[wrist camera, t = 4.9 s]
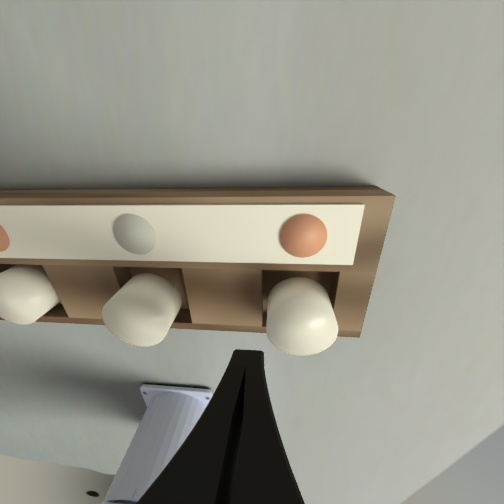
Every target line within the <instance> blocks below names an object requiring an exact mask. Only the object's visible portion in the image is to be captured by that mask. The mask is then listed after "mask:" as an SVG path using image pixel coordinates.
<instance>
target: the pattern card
mask: <svg viewBox="0 0 504 504" xmlns="http://www.w3.org/2000/svg"><path fill="white" fill-rule="evenodd" d="M364 207H365V204H156V205H0V258H33V259H82V260H130V261H179V262H227V263H276V264H325V265H353V262H354V257H355V252H356V247H357V242H358V237H359V232H360V227H361V222H362V217H363V212H364Z"/></svg>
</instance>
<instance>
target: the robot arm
mask: <svg viewBox="0 0 504 504" xmlns="http://www.w3.org/2000/svg"><path fill="white" fill-rule="evenodd" d="M140 391H141V394H142V396H143V399H144V401H145V404H146V406H147V409H146V412H145V414H144V416H143V418H142V420H141V422H140V424H139V426H138V429H137V431H136V433H135V435H134V437H133V439H132V441H131V443H130V446H129V448H128V450H127V452H126V454H125V456H124V458H123V460H122V463H121V465H120V467H119V469H118V471H117V473H116V475H115V477H114V480H113V482H112V484H111V486H110V488H109V490H108V492H107V494H106V497H105V499H104V501H102V503H101V504H305V503H304V501H303V498H302V496H301V493H300V490H299V488H298V485H297V483H296V480H295V477H294V475H293V472H292V470H291V467H290V464H289V461H288V458H287V455H286V452H285V449H284V446H283V443H282V440H281V437H280V434H279V431H278V427H277V424H276V420H275V417H274V413H273V410H272V406H271V402H270V397H269V393H268V388H267V383H266V377H265V371H264V352H262V351H257V350H237V349H236V350H235V351H234V352H233V355H232V357H231V360H230V362H229V365H228V367H227V369H226V371H225V373H224V375H223V377H222V379H221V381H220V383H219V385H218V387H217V389H216V391H215V393H214V394H213V395H212V391H211V390H209V389H201V388H187V387H174V386H160V385H147V384H143V385H141V387H140Z"/></svg>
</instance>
